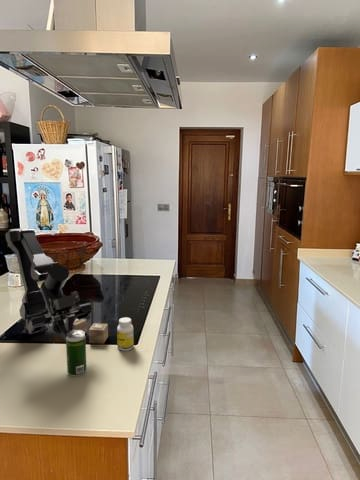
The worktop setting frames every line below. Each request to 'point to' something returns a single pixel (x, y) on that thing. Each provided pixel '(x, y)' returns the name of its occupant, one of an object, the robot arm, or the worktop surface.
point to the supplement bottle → (125, 334)
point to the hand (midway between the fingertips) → (71, 343)
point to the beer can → (76, 353)
